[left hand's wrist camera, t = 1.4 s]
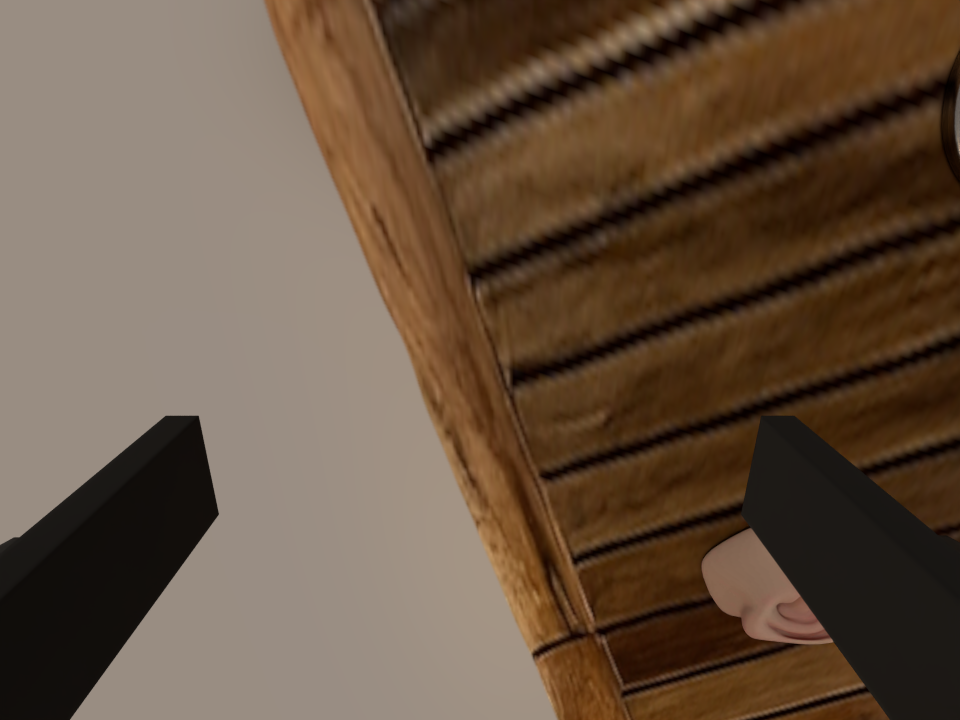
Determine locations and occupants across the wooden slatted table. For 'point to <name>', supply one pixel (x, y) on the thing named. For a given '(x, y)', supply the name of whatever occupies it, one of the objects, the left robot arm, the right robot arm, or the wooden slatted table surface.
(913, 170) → the wooden slatted table surface
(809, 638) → the anatomical model
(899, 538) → the left robot arm
